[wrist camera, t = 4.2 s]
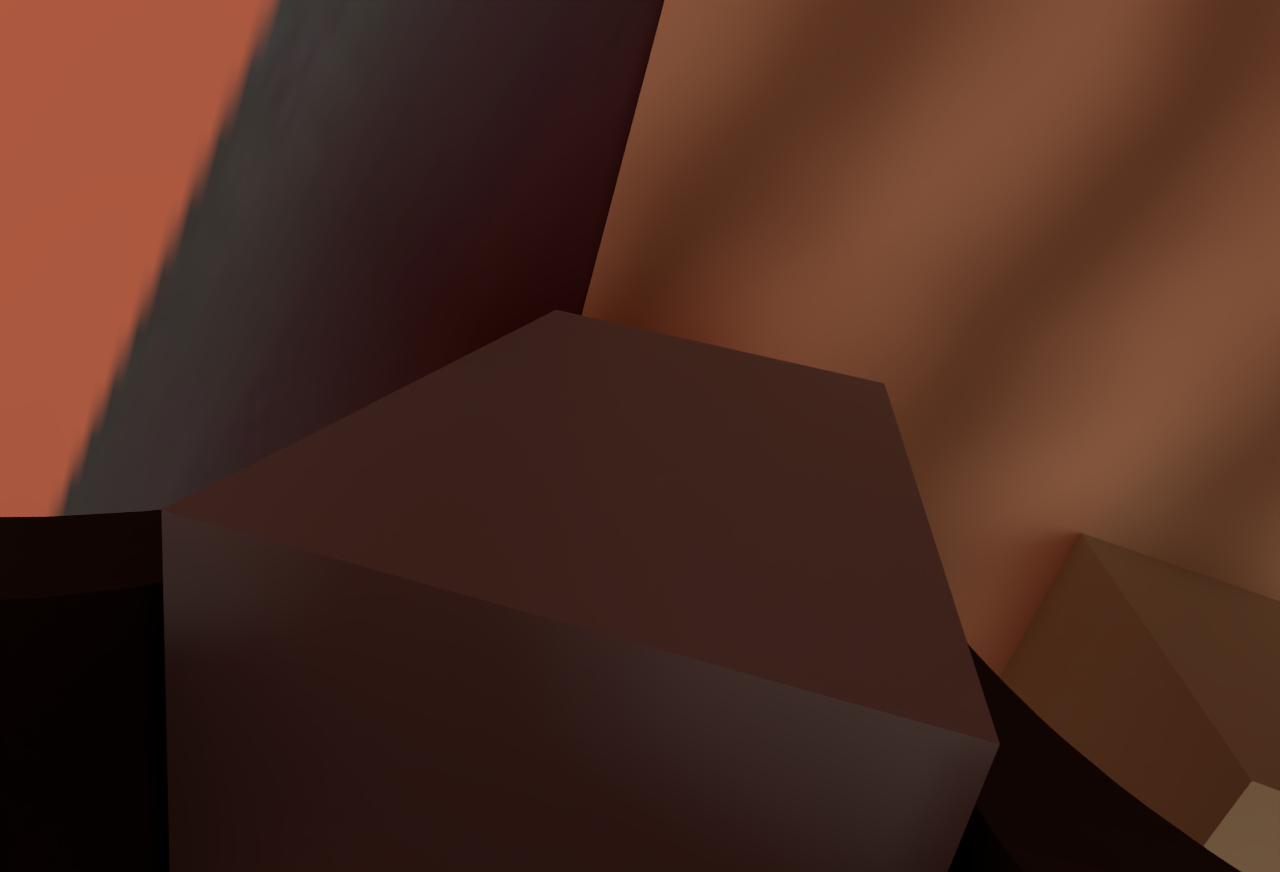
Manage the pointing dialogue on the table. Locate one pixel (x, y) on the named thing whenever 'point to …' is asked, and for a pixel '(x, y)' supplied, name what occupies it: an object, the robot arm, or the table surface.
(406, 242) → the table surface
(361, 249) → the table surface
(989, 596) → the shelf board
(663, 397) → the slate carton
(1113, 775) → the sage carton
